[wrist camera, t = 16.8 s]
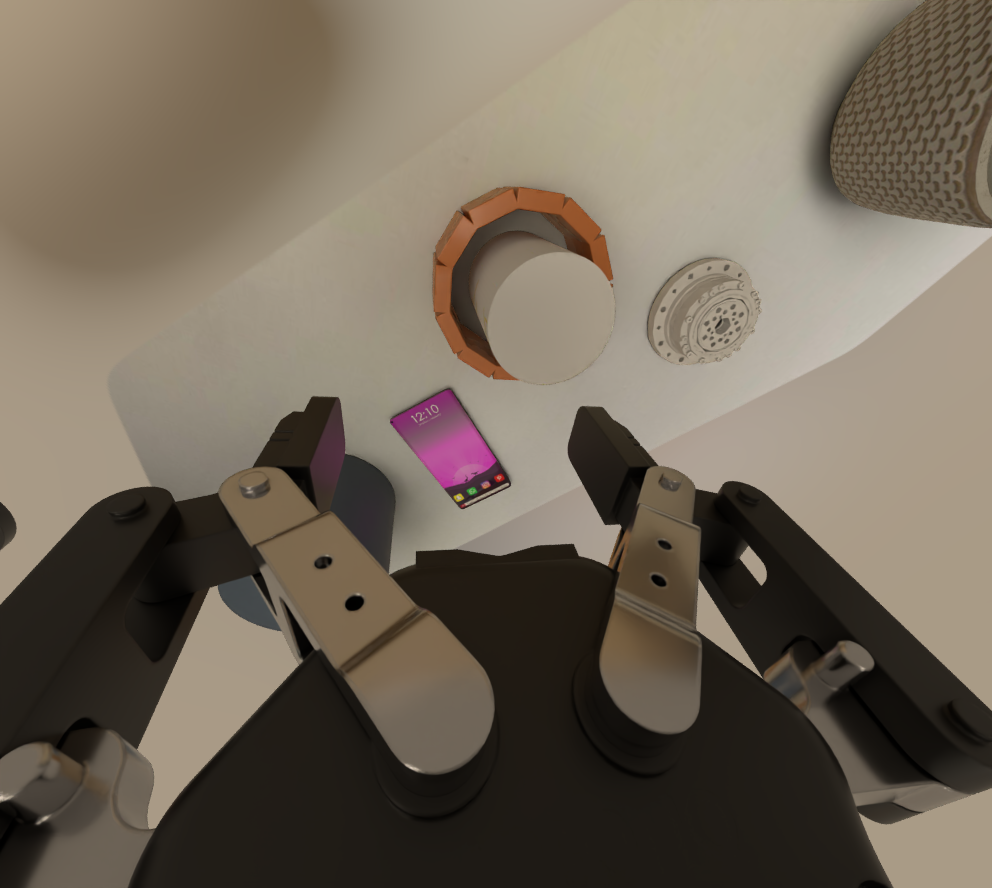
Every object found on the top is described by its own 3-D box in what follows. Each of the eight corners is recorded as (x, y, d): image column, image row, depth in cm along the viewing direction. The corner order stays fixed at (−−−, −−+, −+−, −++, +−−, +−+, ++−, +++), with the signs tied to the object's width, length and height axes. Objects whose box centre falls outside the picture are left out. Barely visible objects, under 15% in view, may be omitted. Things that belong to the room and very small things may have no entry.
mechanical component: (631, 301, 35) (662, 377, 41) (655, 314, 32) (685, 395, 37) (731, 233, 33) (750, 323, 39) (768, 239, 30) (783, 337, 35)
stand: (296, 549, 47) (263, 645, 37) (242, 464, 39) (180, 557, 29) (407, 529, 48) (402, 617, 38) (376, 442, 40) (361, 525, 30)
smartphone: (460, 505, 47) (460, 510, 46) (388, 418, 38) (387, 423, 37) (511, 480, 46) (512, 485, 45) (449, 385, 37) (449, 389, 36)
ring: (430, 349, 35) (431, 376, 30) (435, 176, 27) (438, 173, 23) (564, 358, 38) (585, 384, 33) (601, 202, 30) (635, 205, 25)
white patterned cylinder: (449, 285, 32) (459, 329, 22) (516, 206, 29) (562, 216, 20) (512, 346, 36) (544, 406, 26) (576, 281, 33) (638, 321, 24)
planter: (815, 251, 35) (980, 279, 25) (762, 115, 28) (959, 74, 18) (975, 114, 31) (1261, 76, 20) (958, -86, 24) (1374, -299, 13)
